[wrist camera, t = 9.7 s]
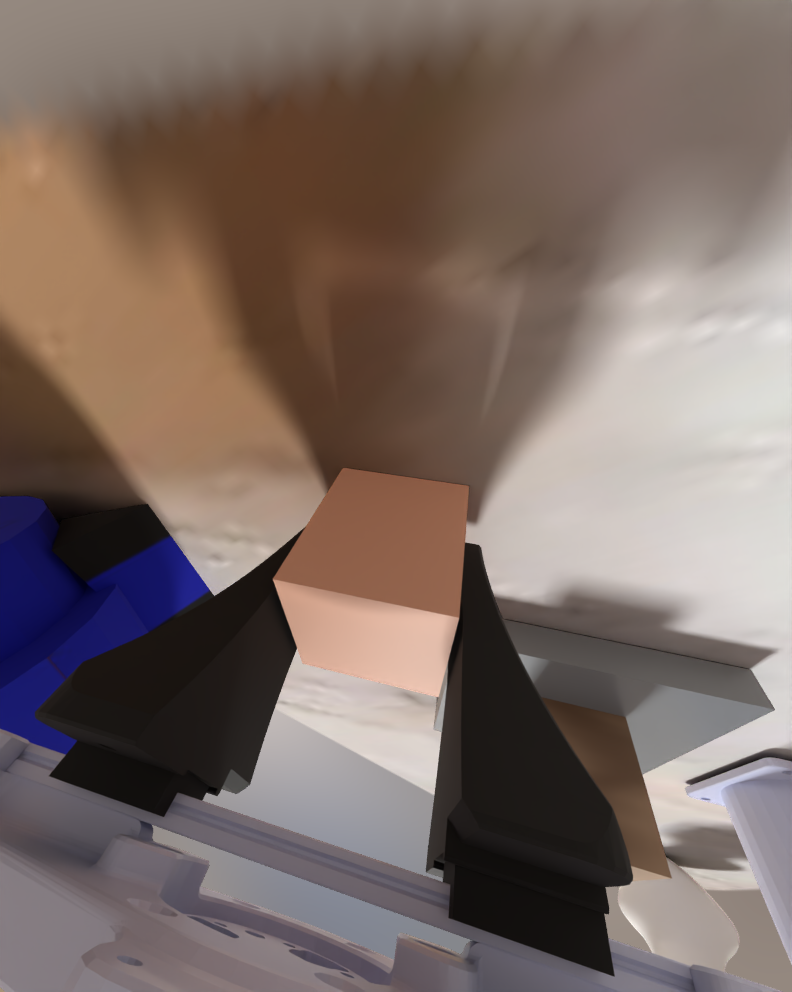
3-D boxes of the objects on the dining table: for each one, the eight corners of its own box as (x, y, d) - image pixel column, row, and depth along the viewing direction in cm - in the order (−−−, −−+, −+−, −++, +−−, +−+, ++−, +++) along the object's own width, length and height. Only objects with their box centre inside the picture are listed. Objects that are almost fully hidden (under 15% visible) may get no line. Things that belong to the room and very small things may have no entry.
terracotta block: (469, 485, 11) (459, 618, 7) (452, 570, 14) (438, 697, 10) (343, 467, 12) (272, 579, 8) (351, 551, 15) (302, 663, 11)
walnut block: (625, 717, 15) (671, 878, 11) (587, 745, 18) (614, 882, 14) (525, 693, 16) (537, 837, 12) (504, 724, 19) (508, 849, 15)
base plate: (751, 669, 13) (775, 709, 12) (620, 751, 21) (628, 781, 20) (460, 610, 15) (458, 640, 14) (436, 705, 23) (433, 729, 22)
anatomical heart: (612, 856, 39) (664, 1110, 28) (595, 831, 34) (650, 1132, 23) (716, 877, 35) (827, 1189, 23) (714, 852, 30) (857, 1239, 18)
